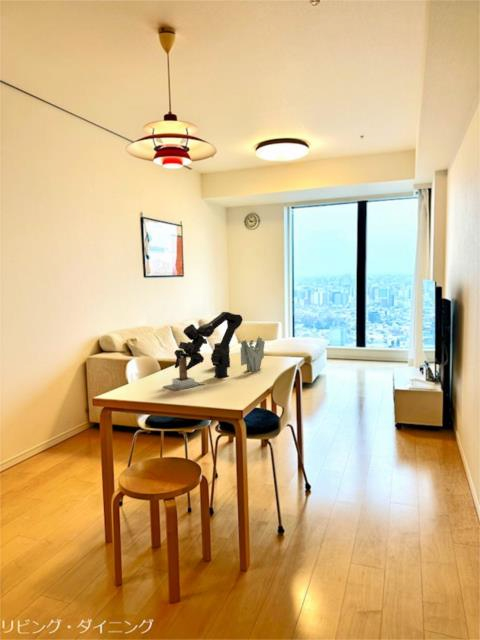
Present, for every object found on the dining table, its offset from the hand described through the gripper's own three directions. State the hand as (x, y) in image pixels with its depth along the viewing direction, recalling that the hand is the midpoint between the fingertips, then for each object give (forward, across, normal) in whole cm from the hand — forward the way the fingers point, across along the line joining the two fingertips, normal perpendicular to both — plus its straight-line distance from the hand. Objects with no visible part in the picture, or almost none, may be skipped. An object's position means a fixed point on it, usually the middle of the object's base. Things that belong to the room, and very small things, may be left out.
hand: (180, 368), depth 234 cm
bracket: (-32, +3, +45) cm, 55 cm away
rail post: (+5, 0, +7) cm, 9 cm away
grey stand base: (+6, 0, +8) cm, 10 cm away
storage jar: (-29, -21, +43) cm, 56 cm away
